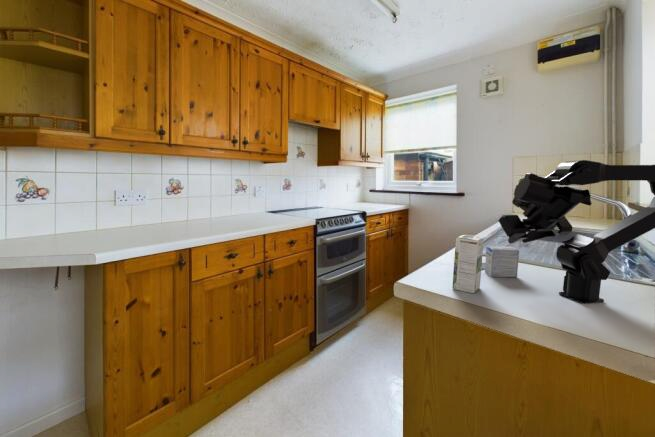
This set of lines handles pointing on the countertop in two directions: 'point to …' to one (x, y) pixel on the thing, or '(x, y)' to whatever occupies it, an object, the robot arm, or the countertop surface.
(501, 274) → the medicine box
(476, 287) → the syrup box
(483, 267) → the mat
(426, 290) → the countertop surface
